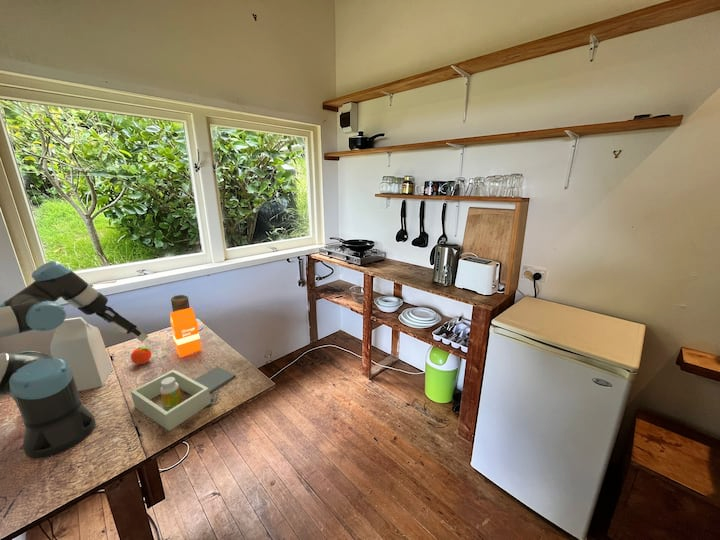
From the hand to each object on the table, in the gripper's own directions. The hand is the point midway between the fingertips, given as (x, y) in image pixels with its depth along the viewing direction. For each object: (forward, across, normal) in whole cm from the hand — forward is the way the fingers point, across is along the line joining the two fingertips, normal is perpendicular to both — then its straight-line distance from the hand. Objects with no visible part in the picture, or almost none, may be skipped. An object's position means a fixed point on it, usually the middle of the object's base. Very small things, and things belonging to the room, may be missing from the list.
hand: (135, 334), depth 114 cm
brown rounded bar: (+28, +17, -14) cm, 36 cm away
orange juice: (+24, +1, -7) cm, 25 cm away
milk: (+8, +13, +20) cm, 25 cm away
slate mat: (+20, -28, -1) cm, 35 cm away
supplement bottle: (+12, -28, +13) cm, 33 cm away
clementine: (+16, +8, +6) cm, 19 cm away
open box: (+12, -28, +13) cm, 33 cm away
